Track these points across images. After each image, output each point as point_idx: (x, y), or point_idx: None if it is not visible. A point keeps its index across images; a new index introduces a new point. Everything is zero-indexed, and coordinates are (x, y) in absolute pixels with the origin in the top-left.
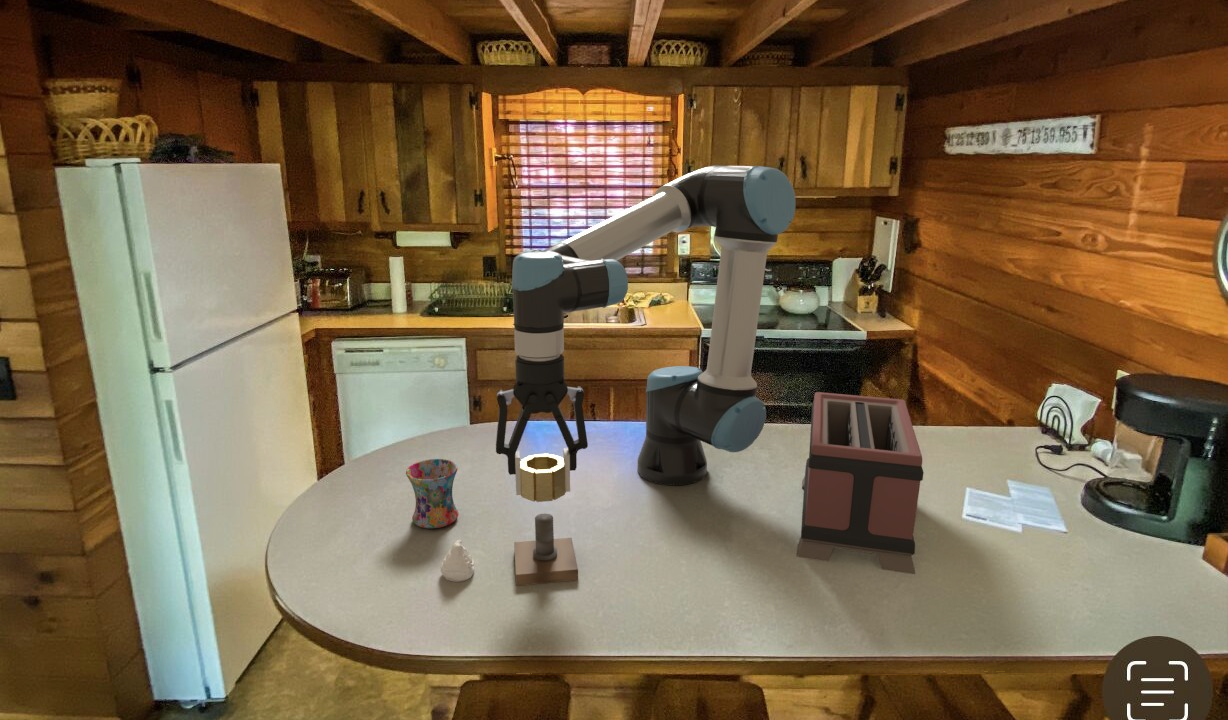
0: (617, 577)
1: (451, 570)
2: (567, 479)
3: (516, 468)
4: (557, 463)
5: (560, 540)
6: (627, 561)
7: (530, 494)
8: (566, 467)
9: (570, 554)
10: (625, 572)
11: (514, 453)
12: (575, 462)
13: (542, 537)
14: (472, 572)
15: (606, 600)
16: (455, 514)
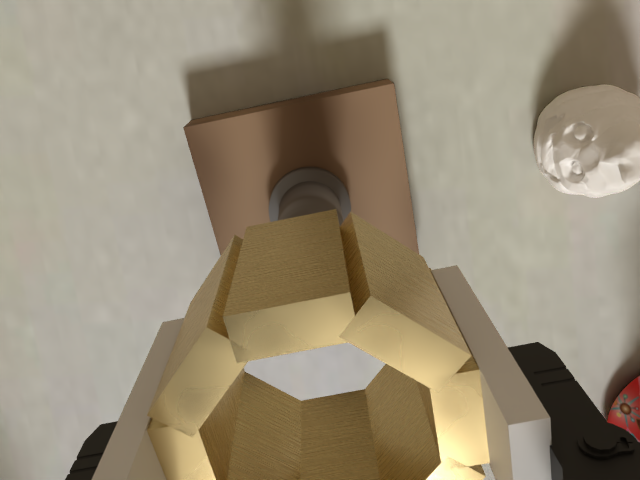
0: (66, 141)
1: (619, 91)
2: (159, 362)
3: (507, 359)
4: (222, 471)
5: None
6: (51, 231)
7: (375, 238)
8: (142, 417)
9: (224, 214)
10: (45, 170)
11: (572, 451)
12: (78, 467)
13: (314, 203)
14: (539, 129)
15: (76, 6)
16: (619, 420)
